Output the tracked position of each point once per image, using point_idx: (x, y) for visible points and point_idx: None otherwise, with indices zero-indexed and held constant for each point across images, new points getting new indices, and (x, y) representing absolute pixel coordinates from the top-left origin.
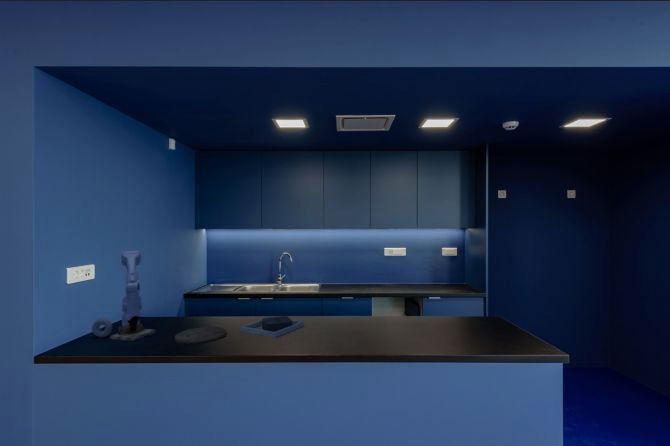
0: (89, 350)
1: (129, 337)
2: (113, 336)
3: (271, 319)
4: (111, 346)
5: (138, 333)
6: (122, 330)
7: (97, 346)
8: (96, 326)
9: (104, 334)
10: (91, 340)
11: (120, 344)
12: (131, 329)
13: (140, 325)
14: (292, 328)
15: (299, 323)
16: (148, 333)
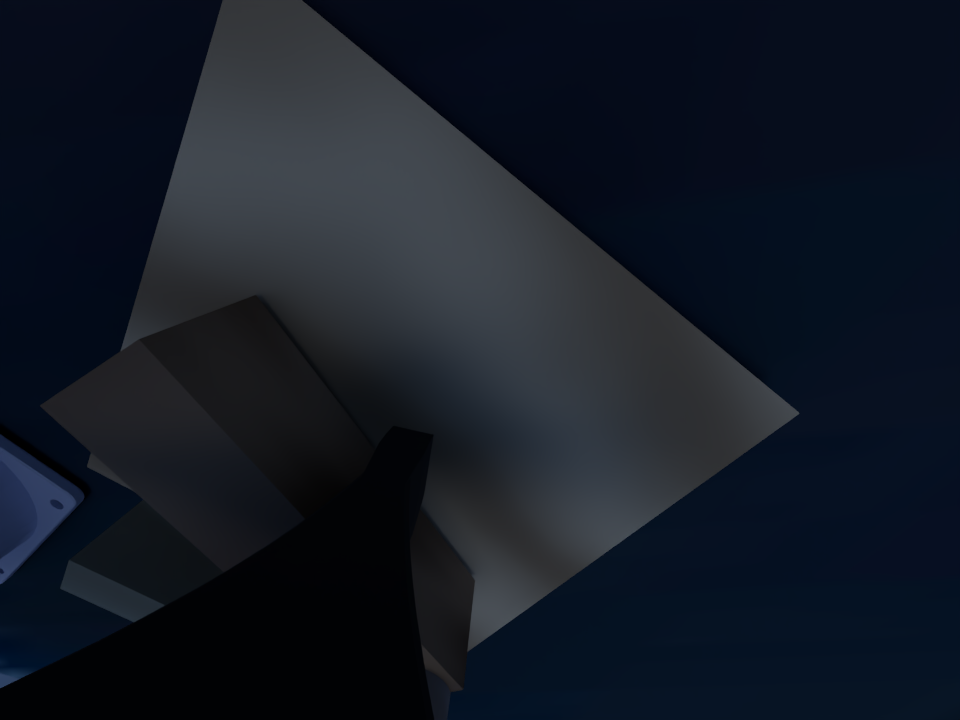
0: (846, 716)
1: (715, 465)
2: (491, 629)
3: None
4: (859, 588)
5: (478, 353)
6: (451, 632)
7: (730, 680)
8: None
9: None
10: (452, 715)
11: (843, 514)
12: (414, 520)
13: (205, 397)
14: None
15: None
16: (467, 139)
